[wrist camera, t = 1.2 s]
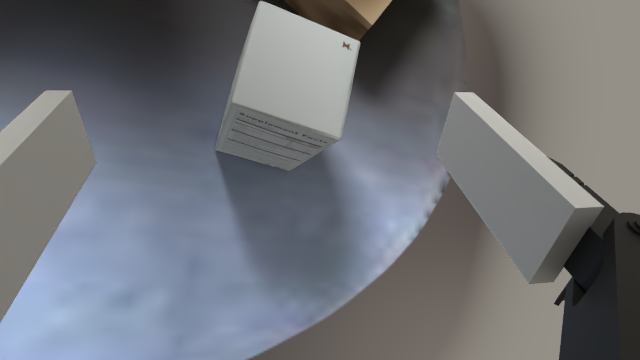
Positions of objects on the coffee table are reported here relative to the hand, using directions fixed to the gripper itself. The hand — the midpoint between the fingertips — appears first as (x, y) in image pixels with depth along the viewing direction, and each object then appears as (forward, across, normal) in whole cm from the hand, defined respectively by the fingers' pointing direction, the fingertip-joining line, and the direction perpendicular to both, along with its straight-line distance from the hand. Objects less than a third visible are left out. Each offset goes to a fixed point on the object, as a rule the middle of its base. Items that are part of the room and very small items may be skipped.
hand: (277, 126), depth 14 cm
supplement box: (+20, 0, -11) cm, 22 cm away
